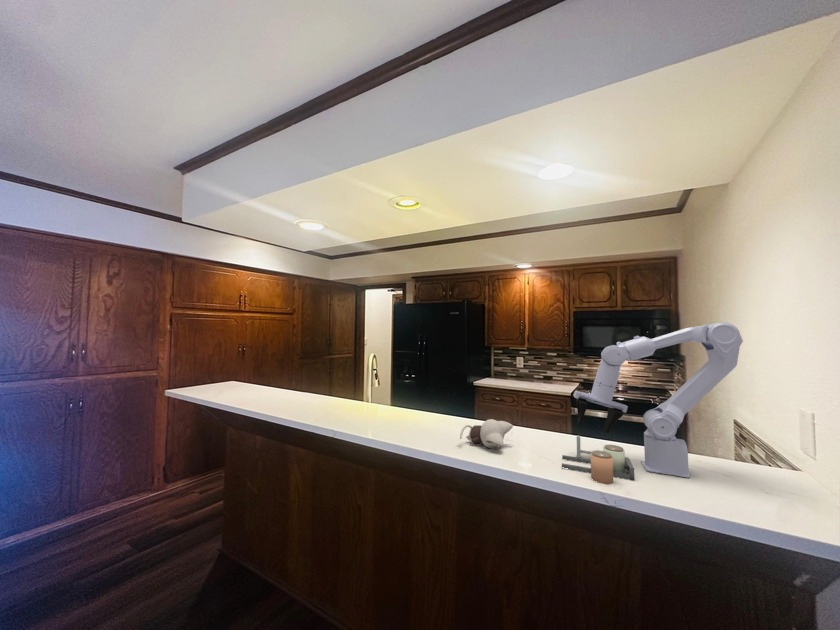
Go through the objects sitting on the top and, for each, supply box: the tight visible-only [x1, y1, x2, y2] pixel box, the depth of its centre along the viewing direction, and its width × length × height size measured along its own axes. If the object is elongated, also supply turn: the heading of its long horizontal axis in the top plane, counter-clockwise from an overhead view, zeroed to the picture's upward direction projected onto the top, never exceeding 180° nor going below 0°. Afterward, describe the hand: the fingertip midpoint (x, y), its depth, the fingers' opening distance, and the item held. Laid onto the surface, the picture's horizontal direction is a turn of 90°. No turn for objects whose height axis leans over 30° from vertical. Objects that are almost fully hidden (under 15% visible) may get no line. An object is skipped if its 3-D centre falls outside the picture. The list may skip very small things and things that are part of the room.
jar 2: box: [602, 444, 626, 474], centre depth 89 cm, size 5×5×6 cm
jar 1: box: [590, 450, 614, 485], centre depth 83 cm, size 5×5×6 cm
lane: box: [561, 454, 636, 481], centre depth 90 cm, size 17×8×3 cm, turn 65°
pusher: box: [576, 435, 600, 458], centre depth 94 cm, size 6×12×6 cm, turn 155°
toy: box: [459, 418, 514, 450], centre depth 108 cm, size 13×9×15 cm
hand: (592, 427), depth 99 cm, fingers open, 7 cm apart
